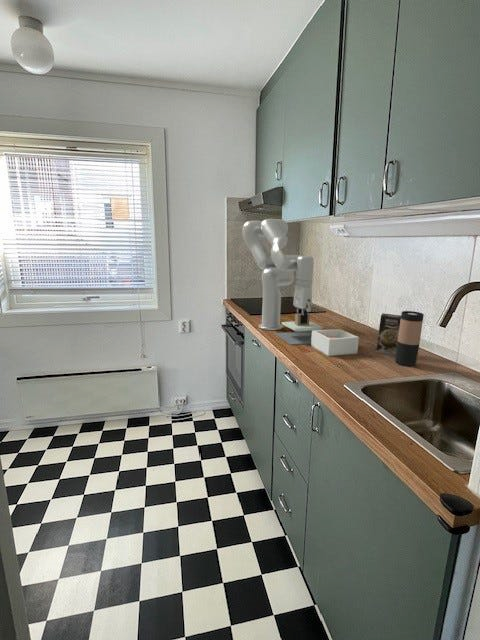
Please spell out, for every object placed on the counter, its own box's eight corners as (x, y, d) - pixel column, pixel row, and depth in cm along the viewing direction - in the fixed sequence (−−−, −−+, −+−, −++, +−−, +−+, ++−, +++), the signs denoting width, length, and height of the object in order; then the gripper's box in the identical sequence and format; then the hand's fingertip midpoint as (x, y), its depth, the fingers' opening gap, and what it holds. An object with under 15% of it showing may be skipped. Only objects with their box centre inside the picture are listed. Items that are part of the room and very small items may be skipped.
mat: (275, 334, 169) (275, 333, 169) (307, 332, 175) (307, 331, 175) (291, 345, 152) (291, 344, 152) (326, 342, 158) (326, 341, 158)
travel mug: (391, 359, 137) (397, 310, 132) (409, 360, 137) (416, 311, 132) (400, 366, 129) (408, 315, 125) (420, 366, 130) (428, 315, 125)
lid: (281, 325, 166) (282, 311, 165) (307, 324, 171) (308, 310, 169) (295, 332, 153) (295, 317, 152) (322, 330, 158) (323, 316, 156)
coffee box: (375, 352, 145) (380, 315, 142) (377, 348, 151) (381, 312, 147) (399, 356, 141) (404, 318, 137) (400, 352, 147) (405, 315, 143)
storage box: (310, 345, 152) (312, 330, 151) (338, 343, 156) (339, 328, 155) (328, 356, 139) (329, 339, 138) (357, 353, 144) (358, 337, 142)
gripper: (288, 281, 164) (287, 319, 168) (305, 285, 149) (303, 326, 153) (302, 281, 166) (300, 318, 170) (320, 285, 151) (317, 325, 155)
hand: (301, 322), depth 161 cm, fingers closed on lid, 3 cm apart
